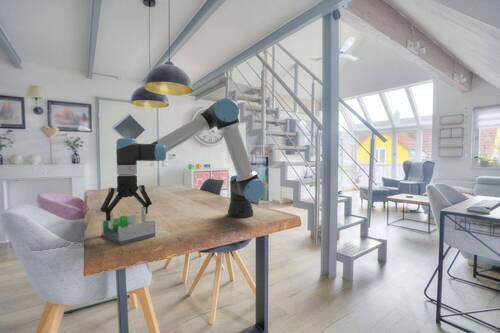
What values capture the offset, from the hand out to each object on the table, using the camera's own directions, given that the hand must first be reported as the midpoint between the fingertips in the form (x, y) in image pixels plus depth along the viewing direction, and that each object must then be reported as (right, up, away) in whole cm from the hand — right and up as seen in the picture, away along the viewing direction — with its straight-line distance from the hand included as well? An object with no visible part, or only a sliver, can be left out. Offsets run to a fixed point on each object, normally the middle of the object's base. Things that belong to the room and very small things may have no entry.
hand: (128, 224), depth 101 cm
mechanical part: (0, -3, 0) cm, 3 cm away
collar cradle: (0, -5, 0) cm, 5 cm away
